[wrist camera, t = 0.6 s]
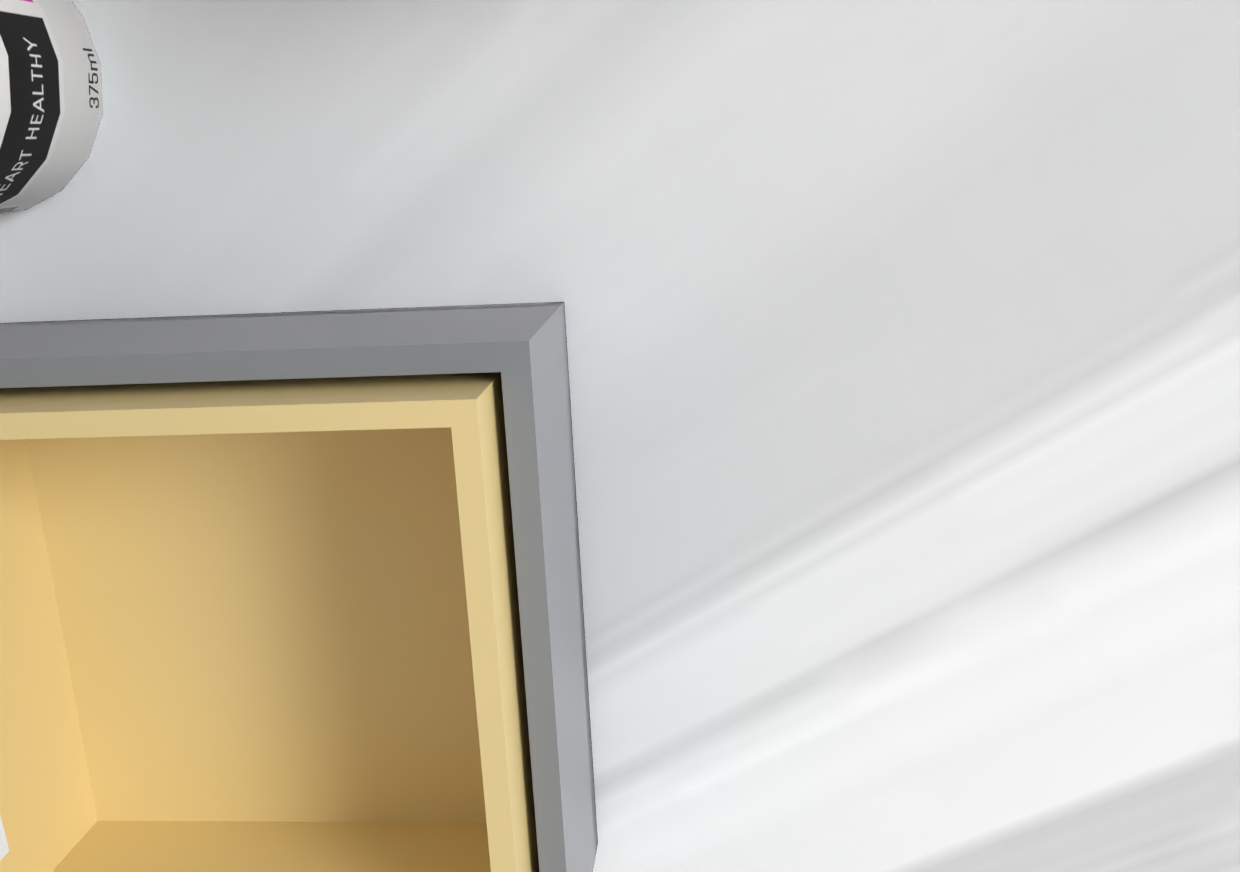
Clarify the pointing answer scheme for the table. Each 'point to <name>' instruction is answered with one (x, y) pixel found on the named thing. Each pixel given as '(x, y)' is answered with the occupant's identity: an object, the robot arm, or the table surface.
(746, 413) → the table surface
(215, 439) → the inner crate
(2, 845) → the robot arm
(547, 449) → the outer crate
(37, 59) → the supplement can
